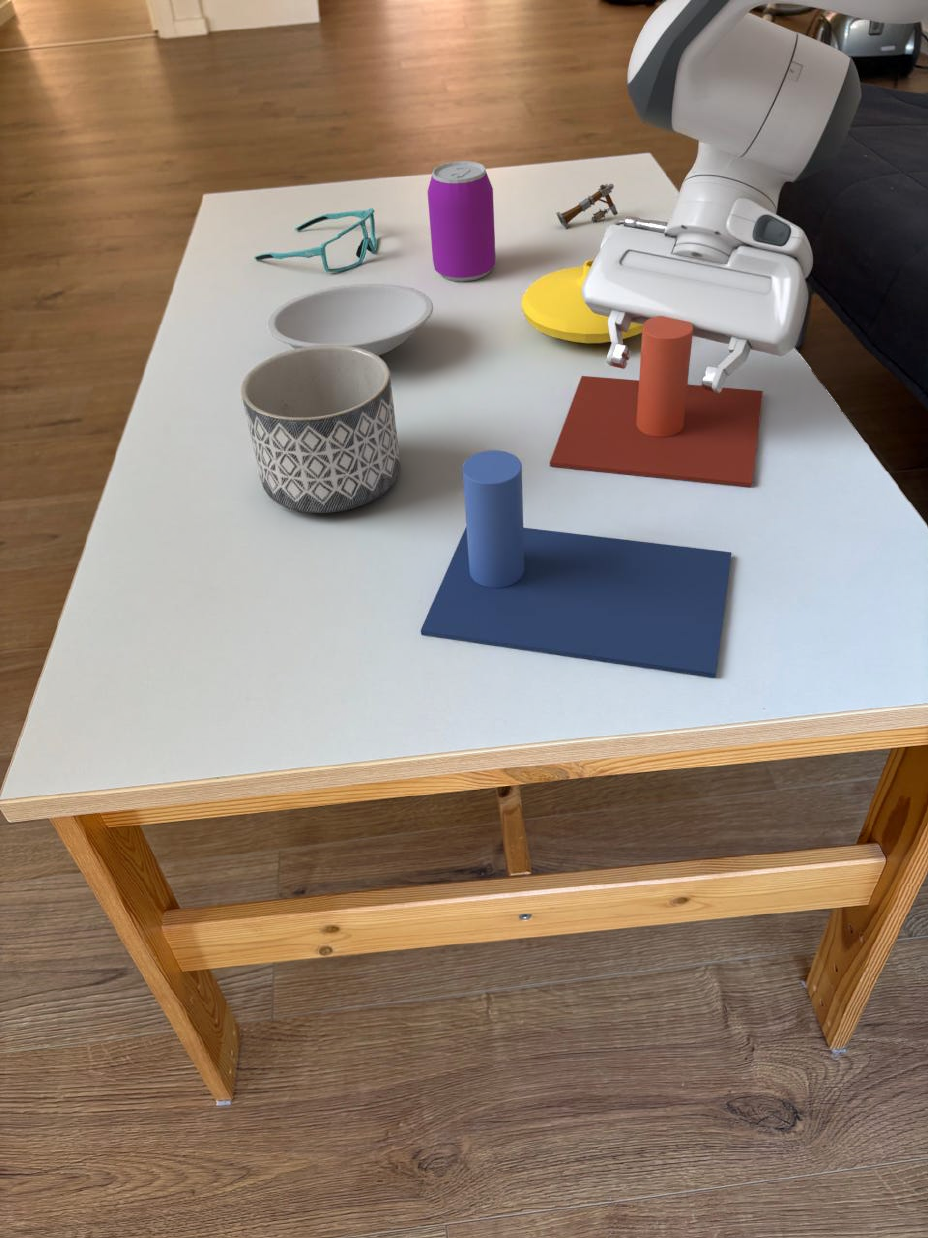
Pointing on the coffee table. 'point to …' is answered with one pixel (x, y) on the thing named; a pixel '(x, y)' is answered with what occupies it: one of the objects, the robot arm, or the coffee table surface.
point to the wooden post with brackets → (587, 203)
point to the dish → (352, 317)
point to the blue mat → (594, 602)
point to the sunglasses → (361, 251)
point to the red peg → (663, 376)
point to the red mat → (700, 452)
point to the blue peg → (494, 518)
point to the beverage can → (461, 221)
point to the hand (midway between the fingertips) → (661, 377)
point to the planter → (323, 427)
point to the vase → (567, 308)
